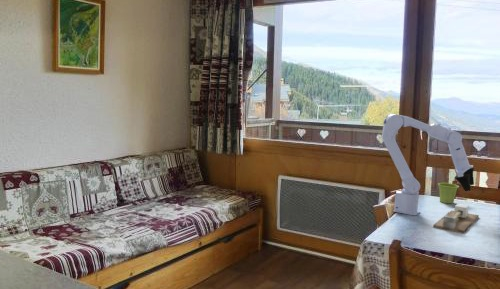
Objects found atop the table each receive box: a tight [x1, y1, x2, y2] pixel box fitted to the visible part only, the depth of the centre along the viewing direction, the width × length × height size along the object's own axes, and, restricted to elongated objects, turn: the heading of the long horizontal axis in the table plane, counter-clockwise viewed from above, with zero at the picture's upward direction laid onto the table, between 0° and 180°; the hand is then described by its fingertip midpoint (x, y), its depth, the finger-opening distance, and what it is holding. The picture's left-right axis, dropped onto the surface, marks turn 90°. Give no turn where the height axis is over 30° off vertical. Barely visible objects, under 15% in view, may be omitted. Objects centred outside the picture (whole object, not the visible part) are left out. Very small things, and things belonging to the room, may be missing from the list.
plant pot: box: [437, 182, 460, 205], centre depth 225 cm, size 9×9×9 cm
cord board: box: [432, 210, 479, 234], centre depth 190 cm, size 11×30×5 cm, turn 144°
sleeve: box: [453, 203, 470, 218], centre depth 196 cm, size 4×5×4 cm
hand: (469, 187), depth 198 cm, fingers open, 7 cm apart
